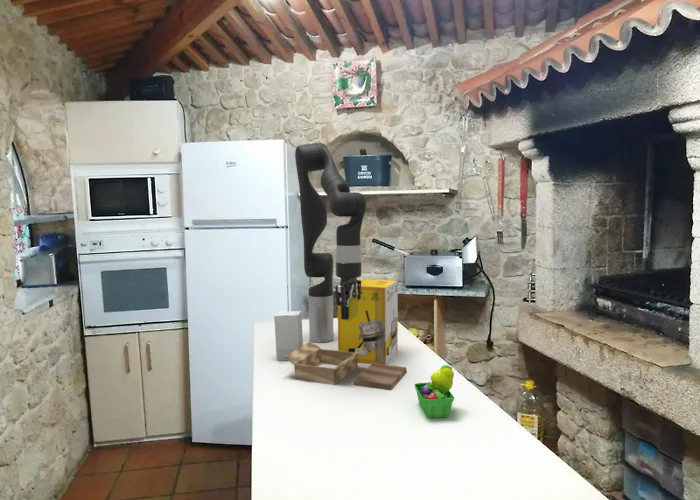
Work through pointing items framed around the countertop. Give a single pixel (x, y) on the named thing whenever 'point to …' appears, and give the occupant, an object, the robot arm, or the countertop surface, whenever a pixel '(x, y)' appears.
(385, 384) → the walnut board
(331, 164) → the robot arm
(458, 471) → the countertop surface
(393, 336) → the packaging box
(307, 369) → the carton
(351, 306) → the lemon
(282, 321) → the skincare box
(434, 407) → the fruit basket
